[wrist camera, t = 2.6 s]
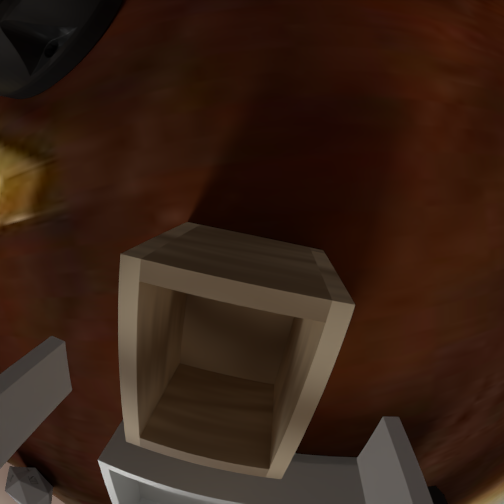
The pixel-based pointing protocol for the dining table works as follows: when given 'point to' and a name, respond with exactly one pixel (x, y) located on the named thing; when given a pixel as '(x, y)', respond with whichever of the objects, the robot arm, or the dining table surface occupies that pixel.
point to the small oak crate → (226, 345)
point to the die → (28, 486)
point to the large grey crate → (223, 479)
